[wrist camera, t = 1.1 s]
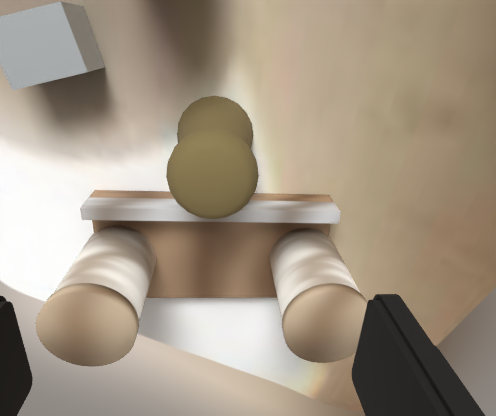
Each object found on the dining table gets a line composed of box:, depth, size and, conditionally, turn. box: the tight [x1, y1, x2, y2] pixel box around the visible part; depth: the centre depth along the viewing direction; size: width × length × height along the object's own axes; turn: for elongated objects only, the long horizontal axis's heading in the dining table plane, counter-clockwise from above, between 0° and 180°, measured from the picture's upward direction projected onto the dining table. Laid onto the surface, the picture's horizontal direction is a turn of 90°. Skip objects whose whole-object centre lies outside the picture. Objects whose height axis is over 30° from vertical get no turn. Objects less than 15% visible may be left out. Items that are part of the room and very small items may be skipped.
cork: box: [166, 96, 259, 219], centre depth 24 cm, size 6×6×11 cm
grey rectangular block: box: [0, 2, 105, 90], centre depth 24 cm, size 5×4×4 cm
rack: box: [36, 190, 367, 366], centre depth 29 cm, size 22×10×10 cm, turn 87°
